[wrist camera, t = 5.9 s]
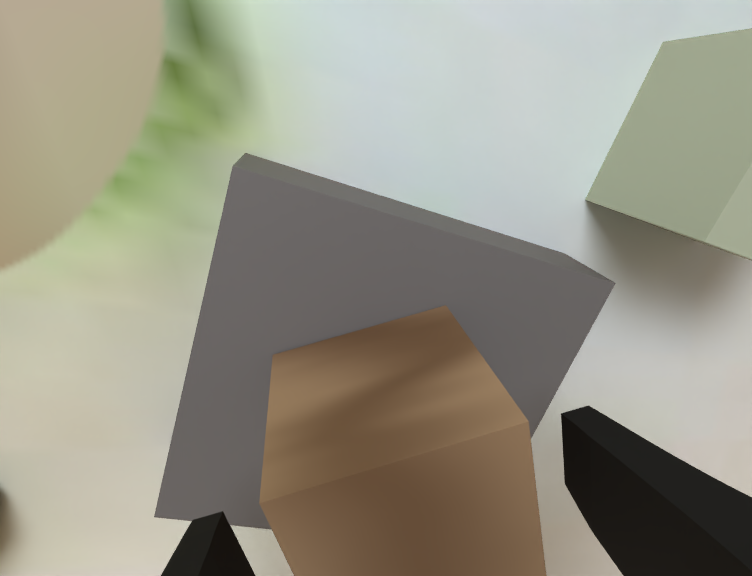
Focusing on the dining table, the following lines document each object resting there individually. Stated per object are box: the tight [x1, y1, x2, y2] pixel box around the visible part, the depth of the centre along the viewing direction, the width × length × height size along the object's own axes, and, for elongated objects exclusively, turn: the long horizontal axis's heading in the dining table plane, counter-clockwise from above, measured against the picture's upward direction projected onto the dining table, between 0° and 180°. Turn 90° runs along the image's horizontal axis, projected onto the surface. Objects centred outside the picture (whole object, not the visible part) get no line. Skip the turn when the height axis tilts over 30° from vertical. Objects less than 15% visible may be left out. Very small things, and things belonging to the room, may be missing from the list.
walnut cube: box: [259, 305, 546, 576], centre depth 10 cm, size 4×4×4 cm
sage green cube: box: [585, 28, 752, 260], centre depth 12 cm, size 4×4×4 cm
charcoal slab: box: [154, 153, 615, 529], centre depth 14 cm, size 10×10×3 cm
